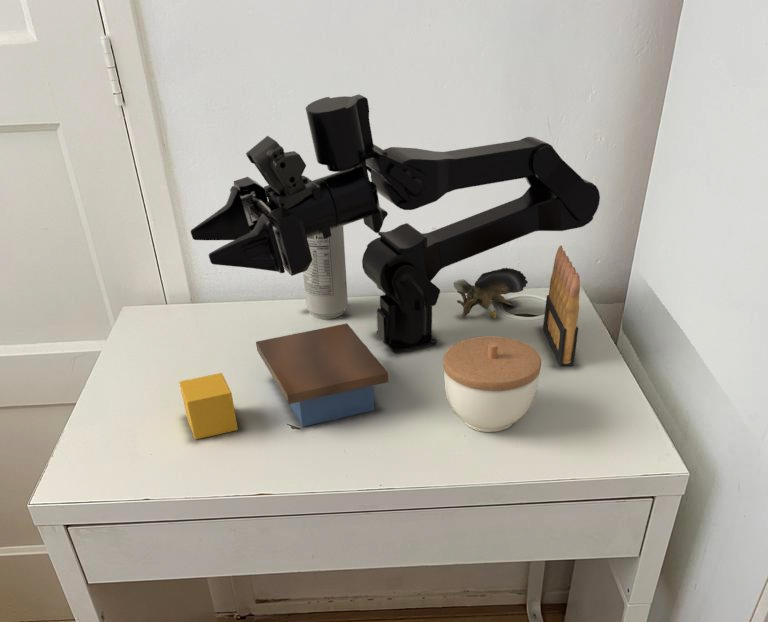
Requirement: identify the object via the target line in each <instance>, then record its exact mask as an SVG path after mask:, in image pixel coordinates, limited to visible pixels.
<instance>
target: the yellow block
mask: <svg viewBox="0 0 768 622" xmlns="http://www.w3.org/2000/svg"><path fill="white" fill-rule="evenodd" d="M178 384H179V388H180V393H181V398H182V402H183V407H184V411H185V415H186V419H187V422H188V424H189V428H190V430H191V432H192V435H193V438H194V440H200V439H205V438H209V437H213V436H217V435H221V434H226V433H231V432H234V431H235V432H236V431H238V430H239V427H238V422H237V416H236V411H235V405H234V399H233V394H232V393H233V392H232V391H231V389H230V387H229V385H228V383H227V381H226V379H225V377H224V374H223V372H219V373H213V374H209V375H204V376H199V377H194V378H190V379H185V380H180V381H179V382H178Z"/></svg>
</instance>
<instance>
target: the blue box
mask: <svg viewBox="0 0 768 622" xmlns="http://www.w3.org/2000/svg"><path fill="white" fill-rule="evenodd" d="M374 387H375V386H374V385H372V386H368V387H363V388H359V389H354V390H350V391H345V392H341V393H337V394H332V395H328V396H323V397H319V398H315V399H310V400H306V401H301V402H297V403H293V404H288V405H289V407H290V409H291V410H292V412H293V414H294V415H295V417H296V419H297V420H298V422H299V423H300V426H301V427H302V428H304V427H305V428H306V427H308V426H313V425H317V424H321V423H325V422H330V421H334V420H338V419H339V420H340V419H342V418H343V419H344V418H347V417H351V416H355V415H359V414H363V413H368V412H373V411H375V390H374V389H375V388H374Z"/></svg>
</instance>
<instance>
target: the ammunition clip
mask: <svg viewBox="0 0 768 622" xmlns="http://www.w3.org/2000/svg"><path fill="white" fill-rule="evenodd" d="M563 248H564V247H563V246H562V245H559V247H558V248H557V251H556V253H555V256H554V262H553V266H552V273H551V275H550V282H549V289H548V294H547V295H546V300H545V307H544V308H545V309H544V316H543V324H542V332H543V333H544V336H545V338H546V341H547V342H548V345H549V347H550V349H551V352H552V354H553V356H554V358H555V360H556V362H557V365H558V367H565V366H566V367H567V366H569V367H570V366H574V364H575V359H576V358H575V357H576V352H577V351H576V349H577V343H578V342H577V341H578V334H579V327H578V319H579V312H580V292H581V279H580V274H579V272H577V271H576V267H575V266H574V265H573V263H572V261H571V260H570V258H569V256H568V255H567V253H566V251H565V250H564V249H563Z"/></svg>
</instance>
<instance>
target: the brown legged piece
mask: <svg viewBox="0 0 768 622" xmlns="http://www.w3.org/2000/svg"><path fill="white" fill-rule="evenodd" d="M528 283H529V281H528V280H527V277H526V275H524V273H522V271H521V270H517V269H514V268H511V267H509V268H508V267H502V268H499V269H495V270H490V271H488V272H487V271H486V272H483V273H482V274H480V276H479V277H478V278H477V279H476V281H475V282H474V285H473V284H470V283H469V282H468V281H467V280H466V279H462V278H461V279H457V280H454V281H453V287H454V289H455V290H456V293H457V294H459V295H460V296H461V298H462V300H459V299H458V300H456V303H457V304H460V305H461V306H462V307H463V309H462V315H461V316H462V318H466V317H467V316H468V314H470V313H471V311H472V309H473V308H474V307H475V306H476V305H479V306H480V307H482V308H483V309H485V310H486V311H488V313H489V314H491V315H492V318H493V319H496V317H497V310H496V308H495V306H494V304H493V302H498V303H503V304H506V305H508V306H511V307H514V306H515V302H512V300H508V299H506V298H505V297H504V296H503V295H508V294H517V293H520V292H522V291H524V288H525V287H527V284H528ZM492 301H493V302H492Z"/></svg>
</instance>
